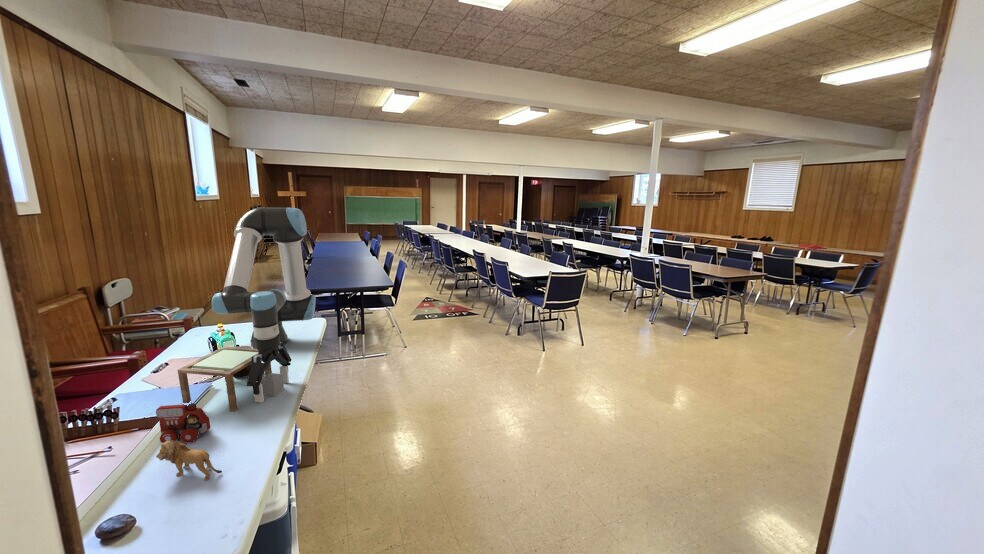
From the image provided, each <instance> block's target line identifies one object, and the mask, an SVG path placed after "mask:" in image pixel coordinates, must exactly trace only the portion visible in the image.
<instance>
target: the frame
mask: <svg viewBox="0 0 984 554" xmlns="http://www.w3.org/2000/svg"><path fill="white" fill-rule="evenodd" d="M237 347H238V346H235V347H234V346H222V347H220V348H218V349H216V350H214V351H213V352H210V353H208V354H207V355H206V354H205V355H204V356H202V357H200V358H198V359H197V360H194V361H191V363H188V364H186V365H184V366H182V367H181V368H179V369H177V374H178V380H179V386H180V393H181V397H182V398H181V400H182V404H183V403H189V402H190V401H191V402H192V397H191V392H190V386H189V384H190V383H189V380H188V374H190V375H191V374H192V375H200V376H201V375H202V376H203V375H204V376H215V377H224V382H225V385H226V393H227V399H228V400H227V401H228V406H229V412H231V413H232V412H233V413H234V412H236V411H238V410H239V408H238V400H237V396H236V394H237V393H236V387H235V377H233V374H235V373H237V372H238V371H240V370H242V369H243V368H245V367H247V366H248V365H250V364H251V363H252V361H251V359H249V360H247V361H245V362H244V363H242V364H240V365H239V366H237V367H235V368H234V369H232V370H230V371H221V370H209V369H197V368H193V365H194V364H196V363H198V362H200V361H202V360H204V359H206V358H208V357H210V356H212V355H214V354H216V353H218V352H220V351H222V350H235V351H248V352H259V351H258V350H257V349H255V348H253V349H250V348H237ZM257 355H258V354H257ZM257 355H256V356H257ZM271 362H272V361H271ZM271 362H270V363H269V365H268V366H267V367H266V369H265V372H264V374H265V376H266V375H267V374H269V373H273V372H272V363H271ZM265 376H264V377H265Z"/></svg>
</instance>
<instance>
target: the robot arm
mask: <svg viewBox="0 0 984 554" xmlns="http://www.w3.org/2000/svg"><path fill="white" fill-rule="evenodd" d="M307 226H308V225H307V221H306V218H305V214H304V213H303V211H302V210H301V209H300V208H297V207H296V208H295V207H289V206H288V207H265V206H260V207H259V206H258V207H256V208H253V209H251V210H249V211H247V212H246V213H244V214H243V216H241V217H240V219H239V220H238V221H237V223H236V225H235V227H234V230H233V236H234V238H235V239H234V244H233V247H232V252H231V256H230V260H229V264H228V269H227V273H226V276H225V281H224V286H223V290H222V292H218V293H214V295H213V296H212V298H211V308H212V311H213V312H214V313H215V314H217V315H232V314H233V315H234V314H246V313H247V314H248V313H249V314H251V319H252V329H253V330H252V334H251V339H250V346H251V347H253V349H257V350H258V351H259V354H258V355H257V356H252V358H251V361H252V363H251V368H250V372H249V375H248V376H247V377H248V378H247V381H246V386H247V387H252V393H253V395H254V402H255V403H264V402H265V399H264V397H265V396H264V395H263V388H262V384H261V380H262V378H263V377H264V374H265V369H266V367H267V366H268V365H269V363H270V362H272V361H274V360H275V361H276V362H277V363H279V365H280V366H279V367H278V368H279V374H283V383H284V384H288V383H290V380H289V378H290V377H289V367H288V366H291V362H292V357H291V356H290V354H289V352H288V350H287V348H286V347H285V344H287V343H288V341H289V338H288V335H287V332H286V331H285V329H284V326H283V322H295V321H296V322H297V321H301V322H302V321H309V320H312V319H313V318H314V316H315V312H316V301H317V298H316V296H315V295H313V294H312V293H311V290H310V289H308V288H307V281H306V274H305V266H304V260H303V252H302V244H301V242H302V241H303V240H304V236H306V235H307V233H308V227H307ZM263 236H272V239H273V242H275V243H276V244H278V245H277V246H278V251H279V257H280V264H281V269H282V275H283V281H284V289H285V292H284V291H283V290H281V289H279V288H271V289H269V290H264V291H263V290H262V291H250V292H249V291H248V290H249V287H250V281H251V277H252V272H253V268H254V263H255V257H256V253H257V248H258V243H260V242H261V241H262V238H263Z"/></svg>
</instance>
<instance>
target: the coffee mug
mask: <svg viewBox="0 0 984 554" xmlns="http://www.w3.org/2000/svg"><path fill="white" fill-rule="evenodd" d="M236 347H237V348H250V349H254V348H253V347H251V345H241V346H240V345H239V346H236ZM250 368H251V364H250V365H248V366H247V367H245V368H243V369H242V370H240V371H238V372H237V373H235V374H233V378H234V379H235V378H236V379H238V378H239V379H240V378H246V377H249V372H250Z"/></svg>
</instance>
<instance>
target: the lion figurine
mask: <svg viewBox="0 0 984 554" xmlns="http://www.w3.org/2000/svg"><path fill="white" fill-rule="evenodd" d="M155 457H156V458H157V459H158V460H159V461H164V460H165V461H169V462H170V463H171V464H174V465H175V467H176V470H177V471H178V472H177V473H176V477H180V476H182V475H183V474H184V470H187V469H188V468H190V465H195V467H196V468H197V470H198V471H199V472H201V473H202V474H204V475H205V476H204V481H208V480H210V479H211V474H210V472H209V471H210V470H212V472H214V473H216V474H222V473H223V471H222V470H220V469H217V468H214V466H213V465H212V462H211V460H210V454H209V452H208V451H207V450H205V449H194V448H189V447H188V446H187V444H186V443H185V442H180V441H178V440H176V441H173V440H171V441H166V442H164V443H160V449H159V452H158V454H156V455H155ZM204 464H205V465H206V467H205V465H204Z"/></svg>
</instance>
